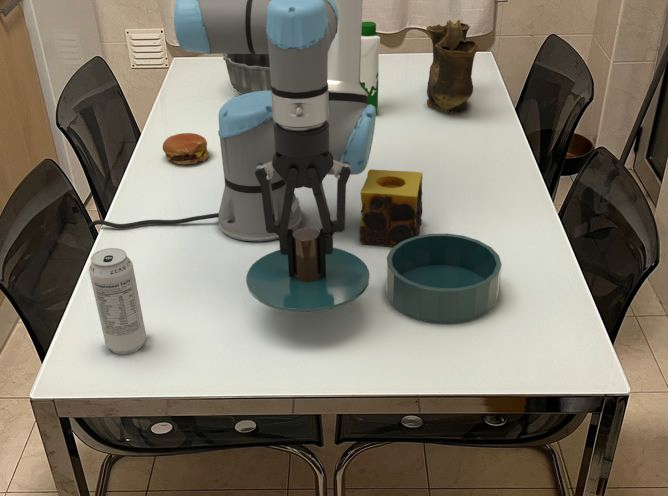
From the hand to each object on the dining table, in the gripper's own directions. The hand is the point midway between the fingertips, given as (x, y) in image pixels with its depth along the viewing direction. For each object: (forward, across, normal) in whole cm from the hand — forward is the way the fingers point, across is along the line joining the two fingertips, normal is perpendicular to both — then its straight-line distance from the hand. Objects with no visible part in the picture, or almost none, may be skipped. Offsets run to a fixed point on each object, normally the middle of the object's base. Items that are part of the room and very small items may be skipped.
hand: (307, 271), depth 125 cm
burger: (+7, -28, +60) cm, 67 cm away
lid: (+1, 0, 0) cm, 1 cm away
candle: (+8, +14, +25) cm, 30 cm away
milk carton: (+7, +9, +85) cm, 86 cm away
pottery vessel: (+7, +31, +88) cm, 93 cm away
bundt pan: (+7, -11, +101) cm, 102 cm away
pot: (+7, +21, +5) cm, 23 cm away
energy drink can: (+8, -27, -8) cm, 29 cm away
